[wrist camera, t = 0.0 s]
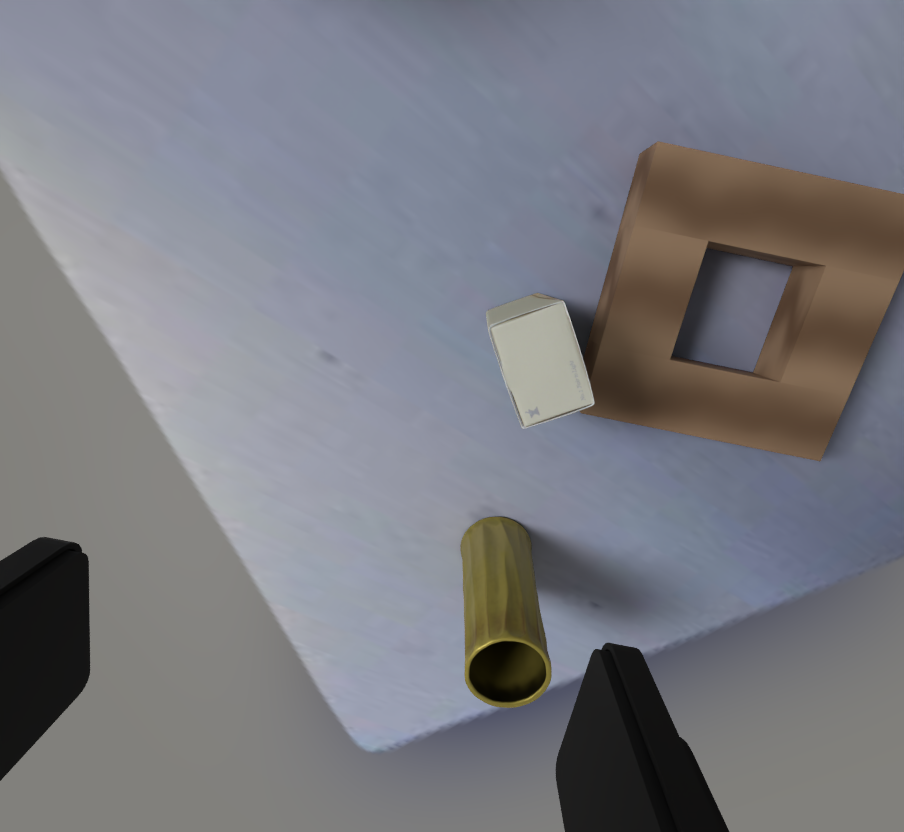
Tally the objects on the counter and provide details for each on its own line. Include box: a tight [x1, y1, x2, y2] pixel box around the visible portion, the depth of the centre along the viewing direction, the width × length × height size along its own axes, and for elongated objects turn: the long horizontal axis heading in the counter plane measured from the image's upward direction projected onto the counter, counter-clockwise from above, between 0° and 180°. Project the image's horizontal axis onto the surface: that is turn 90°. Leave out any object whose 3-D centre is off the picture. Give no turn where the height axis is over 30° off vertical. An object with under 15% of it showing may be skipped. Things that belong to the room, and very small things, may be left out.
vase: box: [461, 517, 551, 708], centre depth 37 cm, size 6×6×14 cm
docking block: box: [580, 142, 904, 461], centre depth 36 cm, size 18×18×4 cm
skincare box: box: [486, 293, 595, 429], centre depth 33 cm, size 6×4×12 cm
